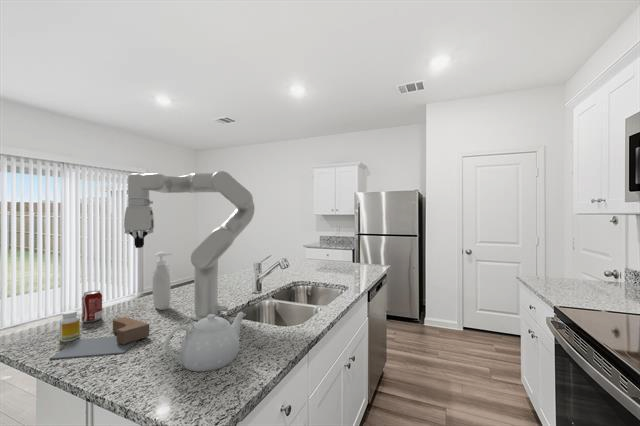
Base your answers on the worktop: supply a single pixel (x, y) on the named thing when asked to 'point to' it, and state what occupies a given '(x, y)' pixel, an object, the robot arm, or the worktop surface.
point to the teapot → (208, 343)
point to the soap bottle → (161, 284)
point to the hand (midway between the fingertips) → (139, 247)
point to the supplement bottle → (69, 326)
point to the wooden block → (129, 330)
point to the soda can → (91, 306)
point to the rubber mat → (93, 348)
